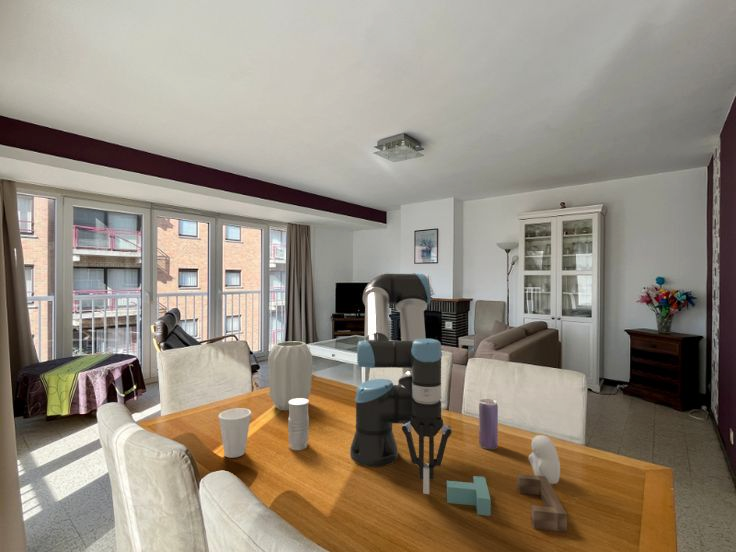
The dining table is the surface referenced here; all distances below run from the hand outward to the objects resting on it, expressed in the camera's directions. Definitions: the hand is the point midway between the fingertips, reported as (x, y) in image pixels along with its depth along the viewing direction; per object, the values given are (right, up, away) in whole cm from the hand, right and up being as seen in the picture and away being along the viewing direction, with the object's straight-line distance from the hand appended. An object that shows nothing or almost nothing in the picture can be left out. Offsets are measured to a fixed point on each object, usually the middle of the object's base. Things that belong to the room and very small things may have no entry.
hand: (426, 490), depth 97 cm
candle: (-38, -2, +29) cm, 48 cm away
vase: (-49, -2, +67) cm, 83 cm away
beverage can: (+26, -2, +29) cm, 39 cm away
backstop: (+27, -2, -4) cm, 28 cm away
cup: (-58, -2, +23) cm, 62 cm away
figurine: (+35, -2, +9) cm, 37 cm away
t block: (+10, -2, -2) cm, 10 cm away
